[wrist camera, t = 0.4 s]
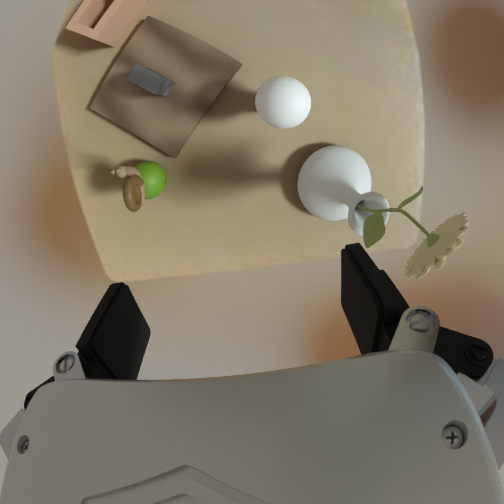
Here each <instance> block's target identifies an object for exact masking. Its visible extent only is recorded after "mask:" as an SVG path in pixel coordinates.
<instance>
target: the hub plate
mask: <svg viewBox="0 0 504 504" xmlns="http://www.w3.org/2000/svg"><path fill="white" fill-rule="evenodd" d="M241 66H242V63H240V62H238V61H237V60H235V59H234V58H232V57H230V56H228V55H227V54H225V53H223V52H222V51H220V50H218V49H216V48H214V47H213V46H211V45H209V44H207V43H205V42H203V41H201V40H200V39H198V38H196V37H194V36H192V35H190V34H188V33H186V32H184V31H181V30H179V29H177V28H175V27H173V26H171V25H169V24H166V23H164V22H162V21H159V20H157V19H155V18H152V17H150V16H147V18H146V19H145V20H144V22H143V23H142V24H141V25H140V27H139V28H138V29H137V31H136V32H135V34H134V35H133V36H132V38H131V39H130V41H129V42H128V43H127V45H126V46H125V48H124V49H123V51H122V52H121V54H120V55H119V57H118V58H117V60H116V62H115V63H114V65H113V66H112V68H111V70H110V71H109V73H108V75H107V77H106V78H105V80H104V82H103V83H102V85H101V87H100V89H99V91H98V93H97V94H96V96H95V98H94V100H93V102H92V104H91V106H90V109H92V110H93V111H95V112H97V113H99V114H101V115H102V116H104V117H106V118H108V119H109V120H111V121H113V122H114V123H116V124H118V125H120V126H121V127H123V128H125V129H126V130H128V131H130V132H131V133H133V134H135V135H137V136H138V137H140V138H142V139H143V140H145V141H147V142H148V143H150V144H152V145H153V146H155V147H156V148H158V149H160V150H161V151H163V152H165V153H166V154H168V155H170V156H171V157H173V158H176V157H177V156H178V154H179V152H180V151H181V149H182V148H183V146H184V145H185V143H186V141H187V140H188V138H189V137H190V135H191V134H192V132H193V131H194V129H195V128H196V126H197V125H198V124H199V122H200V121H201V119H202V118H203V116H204V115H205V113H206V112H207V111H208V109H209V108H210V106H211V105H212V104H213V102H214V101H215V100H216V98H217V97H218V96H219V94H220V93H221V92H222V90H223V89H224V88H225V86H226V85H227V84H228V82H229V81H230V80H231V79H232V77H233V76H234V75H235V73H236V72H237V71H238V70H239V69H240V67H241Z"/></svg>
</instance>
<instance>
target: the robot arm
mask: <svg viewBox="0 0 504 504" xmlns="http://www.w3.org/2000/svg"><path fill="white" fill-rule="evenodd" d="M341 304H342V308H343V310H344V312H345V315H346V317H347V320H348V322H349V325H350V327H351V329H352V332H353V334H354V337H355V339H356V342H357V344H358V347H359V349H360V352H361V354H362V355H358V356H353V357H349V358H344V359H339V360H333V361H328V362H323V363H318V364H312V365H307V366H300V367H294V368H289V369H282V370H275V371H268V372H261V373H252V374H243V375H233V376H223V377H212V378H211V377H210V378H195V379H173V380H137V377H138V373H139V370H140V366H141V363H142V360H143V357H144V353H145V350H146V347H147V344H148V341H149V338H150V328H149V326H148V324H147V322H146V320H145V318H144V317H143V315H142V313H141V311H140V309H139V307H138V305H137V303H136V301H135V299H134V297H133V295H132V293H131V291H130V289H129V287H128V286H127V285H125V284H124V283H123V282H120V283H114V284H111V285H110V286H109V288H108V290H107V291H106V293H105V294H104V296H103V298H102V299H101V301H100V303H99V305H98V306H97V308H96V310H95V311H94V313H93V315H92V317H91V319H90V320H89V322H88V324H87V326H86V327H85V329H84V331H83V333H82V335H81V337H80V339H79V340H78V342H77V344H76V348H77V349H78V350H79V352H78V354H77V353H76V352H73V351H69V352H66V353H63V354H62V355H61V356H59V357H58V359H57V360H56V361H55V363H54V366H53V374H54V376H52V377H51V378H50V379H48V380H47V381H45V382H44V383H42V384H41V385H39V386H38V387H36V388H35V389H34V390H32V391H31V392H29V393H28V394H27V396H26V399H25V402H24V408H25V410H23V409H21V410H20V411H19V412H18V413H17V414H16V415H15V416H14V418H13V419H12V420H11V421H10V422H9V423H8V424H7V426H6V427H5V428H4V429H3V431H2V432H1V435H0V444H1V446H2V448H3V450H4V452H5V454H6V456H7V458H8V463H7V467H6V471H5V476H4V481H3V486H2V492H1V498H0V504H504V492H503V487H502V482H501V478H500V474H499V469H500V467H501V466H502V464H503V462H504V360H503V359H501V358H500V357H499V358H498V360H497V359H495V358H494V357H493V351H492V349H491V347H490V346H489V345H488V344H487V343H486V342H485V341H483V340H481V339H478V338H475V337H472V336H468V335H465V334H462V333H459V332H456V331H453V330H449V329H447V328H444V327H440V320H439V318H438V315H437V314H436V313H435V312H434V311H433V310H431V309H429V308H427V307H423V306H415V307H411V308H410V307H409V305H408V304H407V302H406V301H405V299H404V298H403V297H402V295H401V294H400V292H399V291H398V289H397V288H396V286H395V285H394V283H393V282H392V281H391V279H390V278H389V277H388V275H387V274H386V272H385V271H384V270H379V269H378V268H377V266H376V265H375V263H374V262H373V261H372V259H371V258H370V257H369V255H368V254H367V252H366V251H365V250H364V248H363V247H362V246H361V244H360V243H354V244H349V245H346V246H345V249H342V250H341Z"/></svg>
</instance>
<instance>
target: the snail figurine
mask: <svg viewBox="0 0 504 504" xmlns="http://www.w3.org/2000/svg"><path fill="white" fill-rule="evenodd" d="M115 171H116V174H117V176H118V177H120V178H124V177H125V176H128V177H127V178H126V180H125V182H124V186H123V198H124V202H125V205H126V207H127V208H128V209H129V210H130V211H132V212H136V211H138V210H139V209H140V207H141V205H142V206H143V204H144V202H145V199H152V198H154V197H156V196H158V195H159V194H160V193H161V192H162V191H163V189H164V187H165V184H166V175H165V172H164V170H163V168H162V167H161V166H160V165H159V164H157V163H156V162H153V161H143V162H141V163H139V164H137V165H136V166H135V167H131V166H119V167H118V168H117V169H116V170H111V174H115Z"/></svg>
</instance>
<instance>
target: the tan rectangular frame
mask: <svg viewBox="0 0 504 504" xmlns="http://www.w3.org/2000/svg"><path fill="white" fill-rule="evenodd" d="M146 3H147V1H146V0H84V1H83V3H82V4H81V5H80V7H79V8H78V10H77V11H76V13H75V14H74V16H73V17H72V19H71V20H70V22H69V23H68V25H67V26H66V28H65V29H68V30H71V31H74V32H76V33H79V34H82V35H84V36H87V37H89V38H92V39H94V40H97V41H100V42H103V43H105V44H108V45H110V46H113V47H114V46H115V45H116V43H117V42H118V41H119V39H120V38H121V36H122V35H123V33H124V32H125V31H126V29H127V28H128V26H129V25H130V24H131V22H132V21H133V20H134V18H135V17H136V16H137V15H138V13H139V12H140V11H141V10H142V8H143V7H144V6H145V5H146Z"/></svg>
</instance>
